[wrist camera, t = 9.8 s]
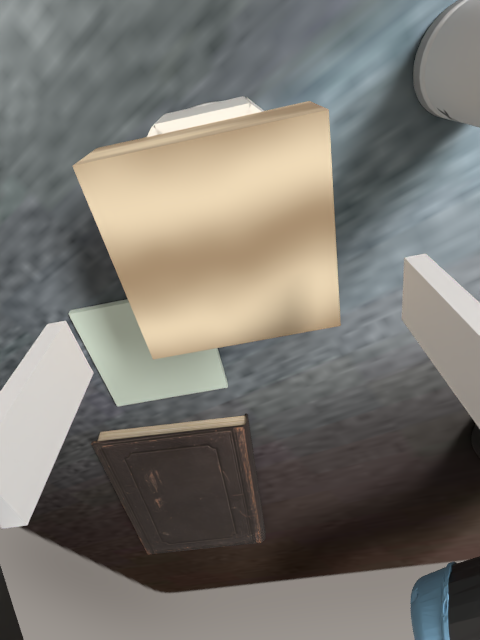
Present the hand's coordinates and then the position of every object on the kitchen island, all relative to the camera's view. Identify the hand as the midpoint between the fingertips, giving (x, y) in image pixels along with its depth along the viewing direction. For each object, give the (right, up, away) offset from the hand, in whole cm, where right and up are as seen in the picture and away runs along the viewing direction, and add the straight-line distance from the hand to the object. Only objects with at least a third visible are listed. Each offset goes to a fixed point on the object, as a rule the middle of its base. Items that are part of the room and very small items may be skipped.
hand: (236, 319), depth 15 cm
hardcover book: (-6, -20, +32) cm, 38 cm away
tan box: (-1, +5, +7) cm, 9 cm away
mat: (-7, -3, +20) cm, 21 cm away
